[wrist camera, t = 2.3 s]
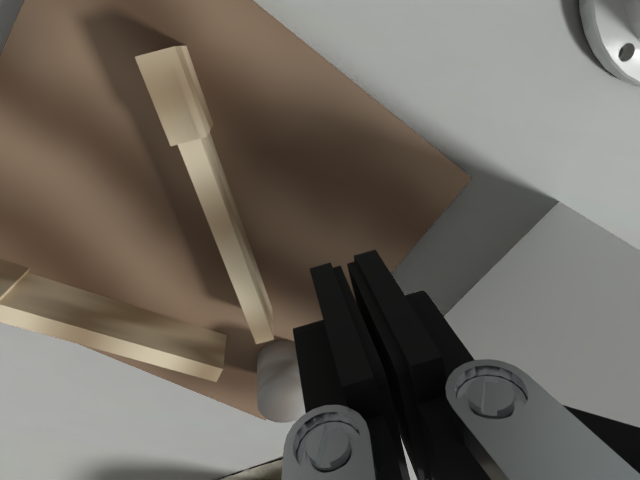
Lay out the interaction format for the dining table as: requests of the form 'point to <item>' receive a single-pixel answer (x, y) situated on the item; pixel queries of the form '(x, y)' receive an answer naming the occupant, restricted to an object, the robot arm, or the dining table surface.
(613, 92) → the dining table surface
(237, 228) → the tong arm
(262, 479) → the condiment
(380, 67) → the dining table surface
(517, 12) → the dining table surface
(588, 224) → the milk
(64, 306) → the beige long slender part
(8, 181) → the board
